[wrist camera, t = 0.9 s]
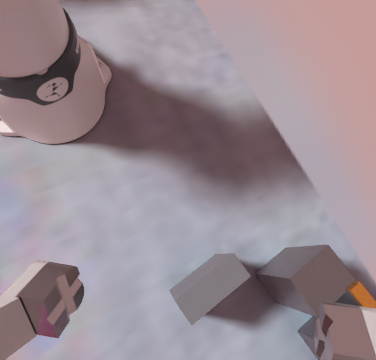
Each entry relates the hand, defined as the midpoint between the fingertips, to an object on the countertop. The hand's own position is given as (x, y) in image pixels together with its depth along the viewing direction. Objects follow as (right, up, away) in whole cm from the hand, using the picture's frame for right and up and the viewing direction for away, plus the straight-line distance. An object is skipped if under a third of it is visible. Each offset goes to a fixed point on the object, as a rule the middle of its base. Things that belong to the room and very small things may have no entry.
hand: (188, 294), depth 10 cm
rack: (+16, -13, +32) cm, 38 cm away
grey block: (+2, -10, +31) cm, 33 cm away
